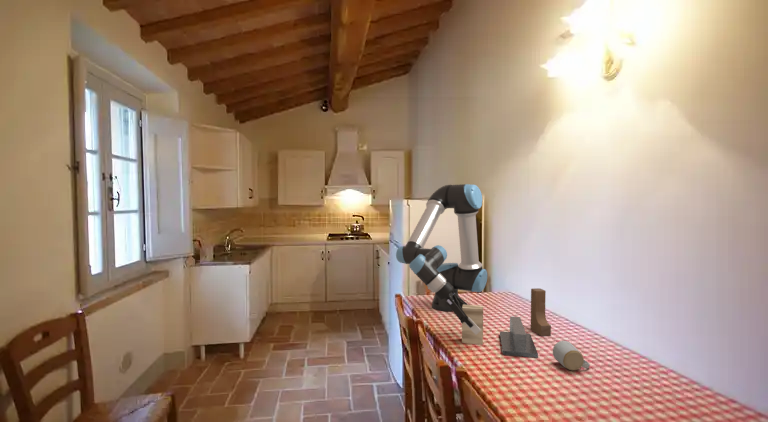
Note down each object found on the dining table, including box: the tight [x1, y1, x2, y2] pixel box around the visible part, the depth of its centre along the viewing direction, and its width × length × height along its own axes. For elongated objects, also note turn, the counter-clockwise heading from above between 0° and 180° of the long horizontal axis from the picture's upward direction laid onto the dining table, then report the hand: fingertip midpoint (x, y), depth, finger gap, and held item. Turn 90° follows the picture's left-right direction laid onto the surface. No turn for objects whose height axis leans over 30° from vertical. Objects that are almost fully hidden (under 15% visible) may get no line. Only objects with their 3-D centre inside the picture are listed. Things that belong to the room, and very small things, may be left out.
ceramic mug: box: [552, 340, 591, 371], centre depth 133 cm, size 11×8×8 cm
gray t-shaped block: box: [499, 316, 539, 359], centre depth 152 cm, size 22×12×8 cm, turn 166°
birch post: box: [461, 304, 484, 346], centre depth 156 cm, size 5×8×14 cm, turn 76°
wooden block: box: [530, 287, 552, 337], centre depth 167 cm, size 9×4×18 cm, turn 7°
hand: (478, 326), depth 156 cm, fingers open, 13 cm apart
